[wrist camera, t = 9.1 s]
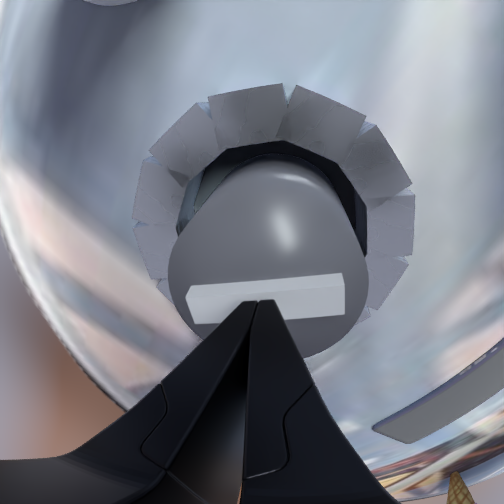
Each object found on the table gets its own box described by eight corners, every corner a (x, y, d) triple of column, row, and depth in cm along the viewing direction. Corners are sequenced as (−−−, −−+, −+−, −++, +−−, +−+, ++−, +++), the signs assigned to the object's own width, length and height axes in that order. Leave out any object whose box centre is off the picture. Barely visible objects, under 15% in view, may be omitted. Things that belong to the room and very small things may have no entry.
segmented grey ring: (386, 80, 10) (407, 77, 8) (390, 303, 15) (401, 333, 13) (132, 121, 12) (104, 128, 10) (192, 318, 18) (180, 348, 15)
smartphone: (369, 430, 22) (518, 333, 15) (368, 421, 22) (513, 324, 16) (408, 446, 23) (531, 366, 16) (406, 438, 24) (527, 359, 17)
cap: (334, 146, 12) (374, 189, 6) (343, 266, 15) (366, 367, 9) (200, 164, 13) (132, 220, 7) (227, 277, 16) (194, 375, 10)
